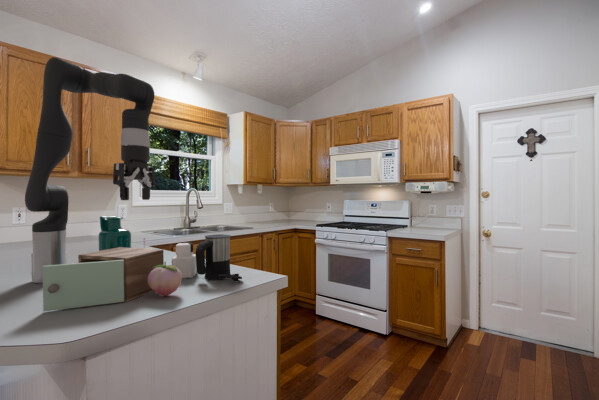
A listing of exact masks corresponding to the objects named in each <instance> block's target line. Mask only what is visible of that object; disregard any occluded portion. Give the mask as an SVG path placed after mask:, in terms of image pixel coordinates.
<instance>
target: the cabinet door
mask: <svg viewBox="0 0 599 400" xmlns="http://www.w3.org/2000/svg"><path fill="white" fill-rule="evenodd" d="M123 302H125V301H124V260H114V261H100V262H87V263H78V262H76V263H67V264H61V265H48V266H43V283H42V309H43V310H42V311H43V312H49V311H56V310H58V311H59V310H64V309H65V310H66V309H73V308H81V307H82V308H84V307H89V306H90V307H91V306H98V305H108V304H115V303H123Z"/></svg>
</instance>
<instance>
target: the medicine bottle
mask: <svg viewBox="0 0 599 400" xmlns="http://www.w3.org/2000/svg"><path fill="white" fill-rule="evenodd" d="M171 265H173V266H175V267H177V268H178V269H179V270H180V271H181V273H182V279H191V278H194V277H195V276H196V274H198V273H197V267H196V253H194V243H192V242H189V241H185V242H183V241H182V242H179V243H177V244H176V245H175V256H173V258H171Z"/></svg>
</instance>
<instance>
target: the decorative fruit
mask: <svg viewBox="0 0 599 400" xmlns="http://www.w3.org/2000/svg"><path fill="white" fill-rule="evenodd" d="M166 263H167V262H166V261H164V265H157V266H155V267H153V269H152V271H151V272H150V274H149V276H148V284H149V286H150V288H151V289H152V290H153V292H155V293H156V294H157V295H160V296H162V297H168V296H169V295H172V294H173V293H174V292H176V291H178V289H179V287H180V285H181V284H182V283H181V282H182V280H183V278H182V273H181V271H180V270H179V269H178V268H177V267H175V266H173V265H172V264H169V265H168V264H166Z"/></svg>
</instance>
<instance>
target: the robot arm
mask: <svg viewBox="0 0 599 400" xmlns="http://www.w3.org/2000/svg"><path fill="white" fill-rule="evenodd" d="M42 83H43V84H42V87H43V88H42V102H41V110H40V111H41V112H40V117H39V123H38V127H37V135H36V141H35V151H34V157H33V161H32V166H31V170H30V175H29V178H28V181H27V184H26V185H27V186H26V190H25V193H24V203H25V207H26V209H27V210H28V211H29V212H35V213H37V212H38V213H39V212H41V213H42V212H43V213H44V212H48V215H47V216H46V217H45V218H43V219H41V220H39V221H36V222H33V223H32V226H31V232H32V235H31V236H32V237H31V238H32V242H31V243H32V253H31V255H30V256H31V281H32V282H33V283H34V284H43V266H48V265H61V264H68V262H67V261H68V260H67V259H68V258H67V255H68V254H67V251H68V250H67V223H68V221H69V220H68V219H69V200H70V199H69V193H68V191H67V189H66V188H65V186H62V185H61V184H60V185H59V184H58V185H57V184H56V185H54V184H48V181H49V178H50V176H51V174H52V172H53V171H54V169H55V168H56V167H58V165H59V164H60V163H61V162H62V161H63V160H64V159H65V158H66V157H67V155H68V154H69V153H70V151H71V147H72V142H73V136H74V135H73V134H74V132H73V128H72V125H71V123H70V120H69V119H68V117H67V114H66V113H65V110H64V107H63V103H62V94H63V91H66V92H70V93H74V94H90V93H91V94H98V95H101V96H103V97H109V98H113V99H122V100H125V101H129V102H133V103H134V104H135V105H134V108H125V109H124V110H122V113H121V135H120V161H122V162H117V163H116V162H115V163H114V164H113V171H112V173H113V174H112V184H113V185H117V186H118V187H119V198H120V200H121V201H129V200H130V187H129V186H130V184H131V182H133V181H137V182H138V183H140V185H141V187H142V188H141V199H142V200H144V201H145V200H146V201H149V200H150V199H151V188H152V187H155V186H156V169H155V167H154V166H148V163H149V162H150V150H151V149H150V145H151V144H150V143H151V142H150V131H149V118H150V114H151V112H152V107H153V104H154V102H155V90H154V88H153V86H152V85H151V84H150V83H149V82H148V81H145V80H143V79H141V78H138V77H135V76H133V75H130V74H126V73H111V72H105V71H104V72H103V71H98V72H91V71H89V70H88V69H85V68H83V67H81V66H80V65H77V64H75V63H72V62H69V61H67V60H65V59H63V58H59V57H54V56H53V57H51V58H49V59H48V60H47V62H46V64H45V67H44V72H43V82H42Z"/></svg>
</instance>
